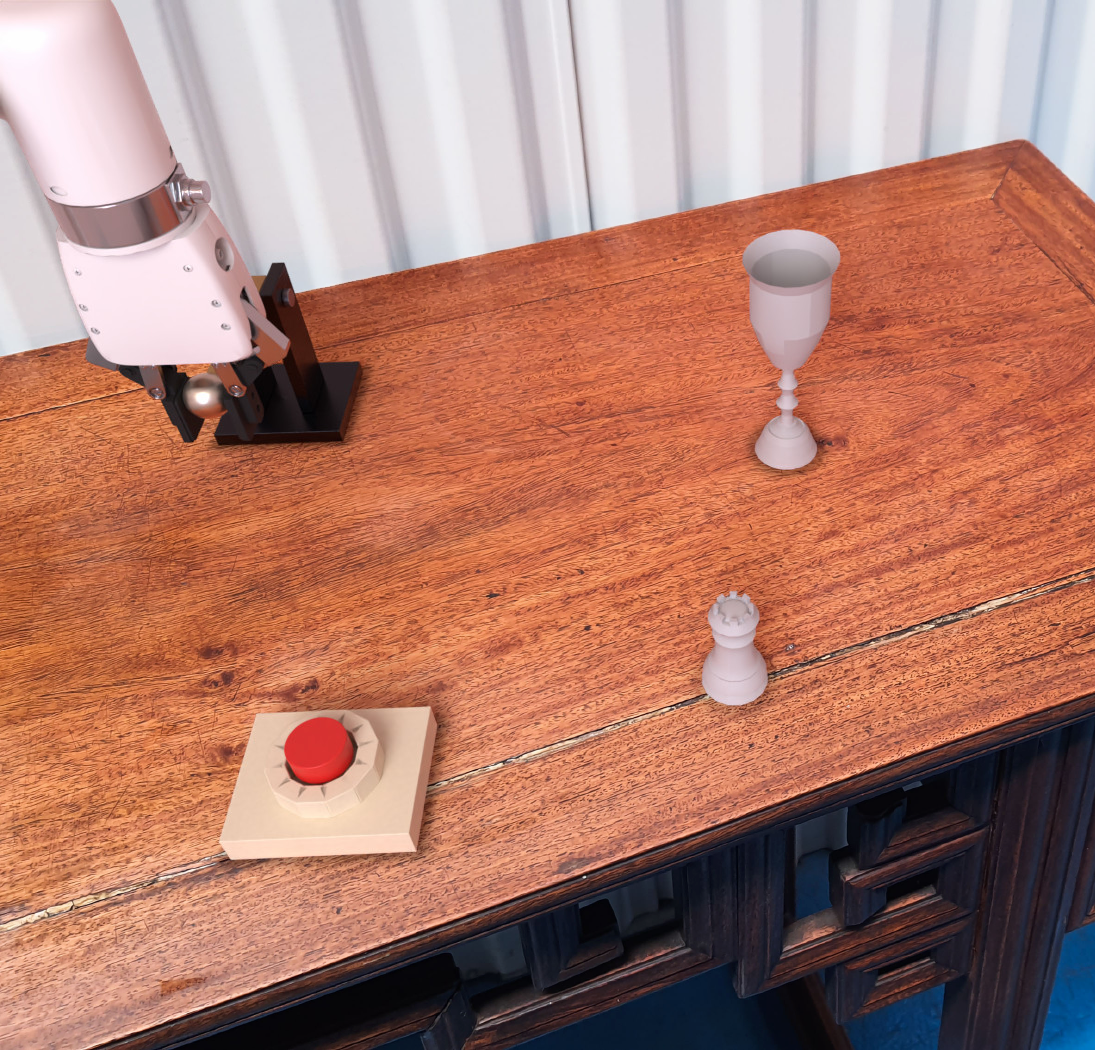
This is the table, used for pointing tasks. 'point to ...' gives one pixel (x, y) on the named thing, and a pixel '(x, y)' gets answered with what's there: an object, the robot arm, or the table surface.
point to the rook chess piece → (734, 652)
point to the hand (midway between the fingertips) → (223, 426)
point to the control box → (333, 788)
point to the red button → (318, 750)
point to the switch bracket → (296, 380)
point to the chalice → (789, 327)
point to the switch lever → (209, 386)
